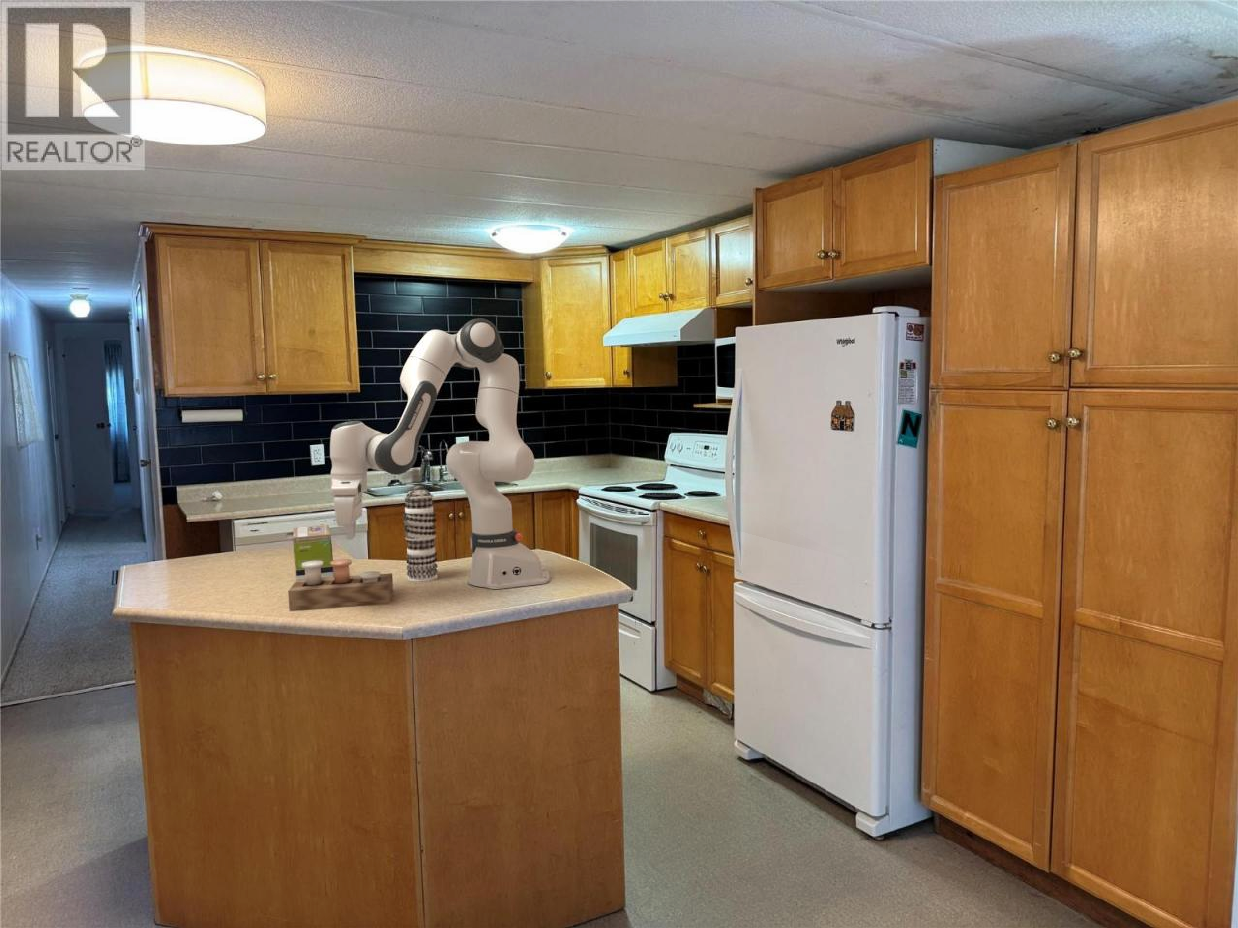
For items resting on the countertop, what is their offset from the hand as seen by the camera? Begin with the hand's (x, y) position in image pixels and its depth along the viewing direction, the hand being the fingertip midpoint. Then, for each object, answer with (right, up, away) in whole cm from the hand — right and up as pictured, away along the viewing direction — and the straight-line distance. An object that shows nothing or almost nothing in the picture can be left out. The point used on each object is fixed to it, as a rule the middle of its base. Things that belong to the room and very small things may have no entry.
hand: (350, 538), depth 214 cm
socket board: (-2, -16, +2) cm, 16 cm away
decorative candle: (+13, -14, +23) cm, 30 cm away
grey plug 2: (+4, -15, +3) cm, 16 cm away
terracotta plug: (-3, -11, +1) cm, 11 cm away
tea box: (-18, -14, +23) cm, 32 cm away
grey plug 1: (-9, -12, 0) cm, 15 cm away
